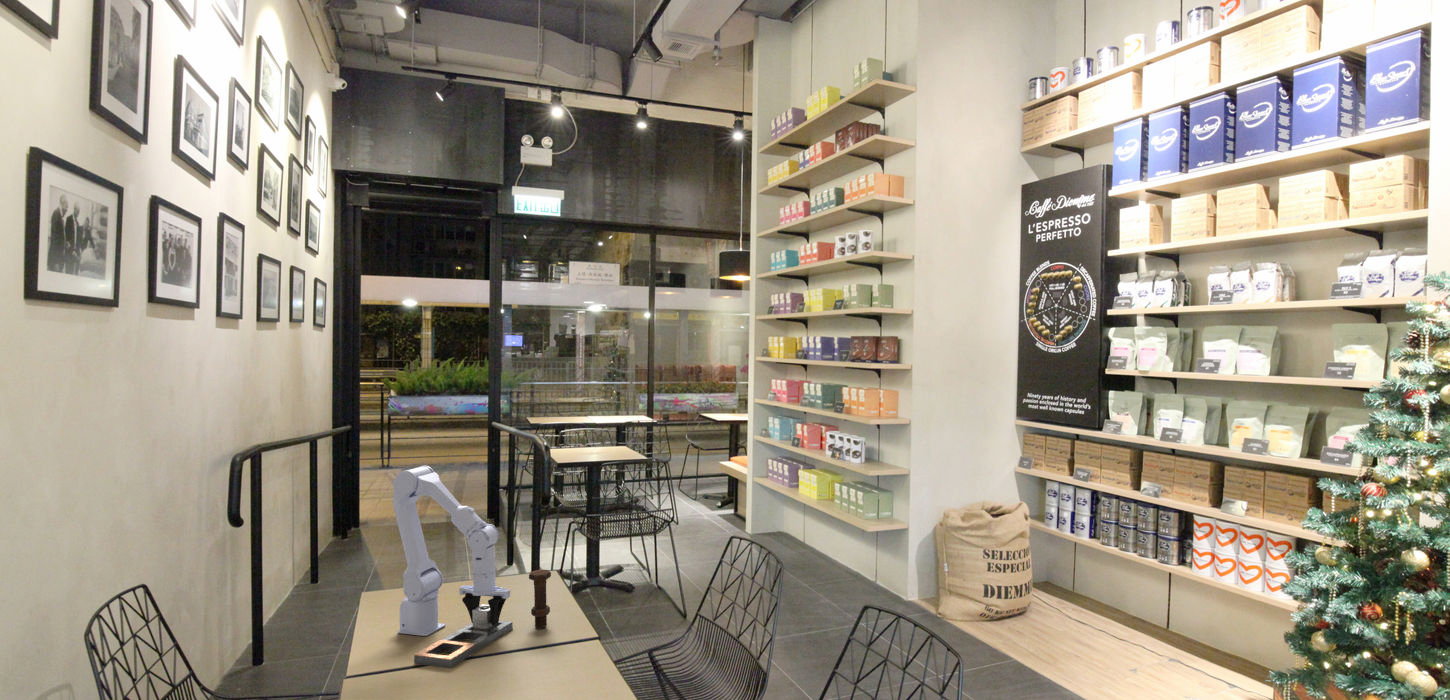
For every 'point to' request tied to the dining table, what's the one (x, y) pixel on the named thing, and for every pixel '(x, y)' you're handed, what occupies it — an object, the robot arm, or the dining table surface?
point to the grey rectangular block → (482, 619)
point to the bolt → (540, 597)
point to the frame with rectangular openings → (460, 645)
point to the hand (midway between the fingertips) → (485, 622)
